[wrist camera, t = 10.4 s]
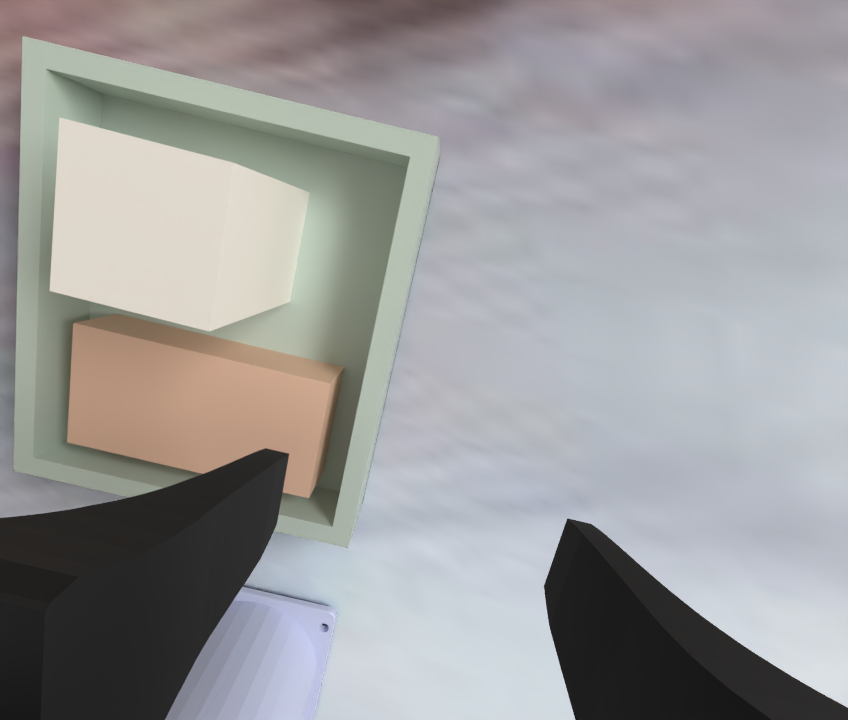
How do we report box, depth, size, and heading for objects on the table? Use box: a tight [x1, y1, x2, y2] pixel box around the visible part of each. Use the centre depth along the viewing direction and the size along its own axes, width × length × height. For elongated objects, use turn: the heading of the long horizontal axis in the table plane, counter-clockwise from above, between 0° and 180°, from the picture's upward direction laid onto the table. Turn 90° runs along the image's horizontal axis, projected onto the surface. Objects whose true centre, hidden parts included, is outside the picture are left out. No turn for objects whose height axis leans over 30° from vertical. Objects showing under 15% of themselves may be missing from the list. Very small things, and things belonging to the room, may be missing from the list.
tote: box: [13, 36, 440, 548], centre depth 19 cm, size 16×14×4 cm
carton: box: [50, 117, 310, 331], centre depth 16 cm, size 4×4×7 cm
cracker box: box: [67, 314, 344, 498], centre depth 20 cm, size 5×10×2 cm, turn 77°
